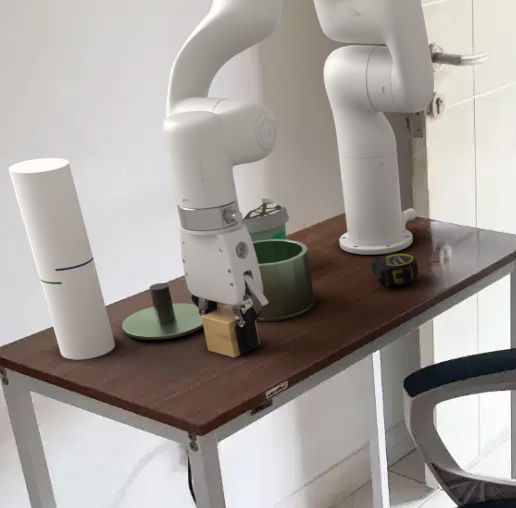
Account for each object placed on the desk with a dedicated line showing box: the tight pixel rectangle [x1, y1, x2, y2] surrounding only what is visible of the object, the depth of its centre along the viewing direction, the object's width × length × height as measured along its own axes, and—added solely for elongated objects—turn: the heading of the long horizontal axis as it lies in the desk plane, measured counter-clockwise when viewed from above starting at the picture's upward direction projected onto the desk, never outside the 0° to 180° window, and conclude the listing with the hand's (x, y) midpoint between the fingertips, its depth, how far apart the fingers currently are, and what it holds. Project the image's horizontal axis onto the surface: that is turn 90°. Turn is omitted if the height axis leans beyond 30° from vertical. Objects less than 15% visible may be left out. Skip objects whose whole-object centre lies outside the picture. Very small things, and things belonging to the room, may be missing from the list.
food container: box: [241, 197, 290, 242], centre depth 161 cm, size 12×6×10 cm, turn 168°
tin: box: [241, 238, 315, 323], centre depth 148 cm, size 11×11×8 cm
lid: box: [121, 282, 204, 341], centre depth 144 cm, size 12×12×6 cm
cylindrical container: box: [8, 157, 116, 360], centre depth 133 cm, size 7×7×25 cm
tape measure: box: [370, 252, 419, 288], centre depth 157 cm, size 7×7×4 cm
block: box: [202, 304, 261, 359], centre depth 137 cm, size 5×5×5 cm
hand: (233, 344), depth 138 cm, fingers open, 5 cm apart
